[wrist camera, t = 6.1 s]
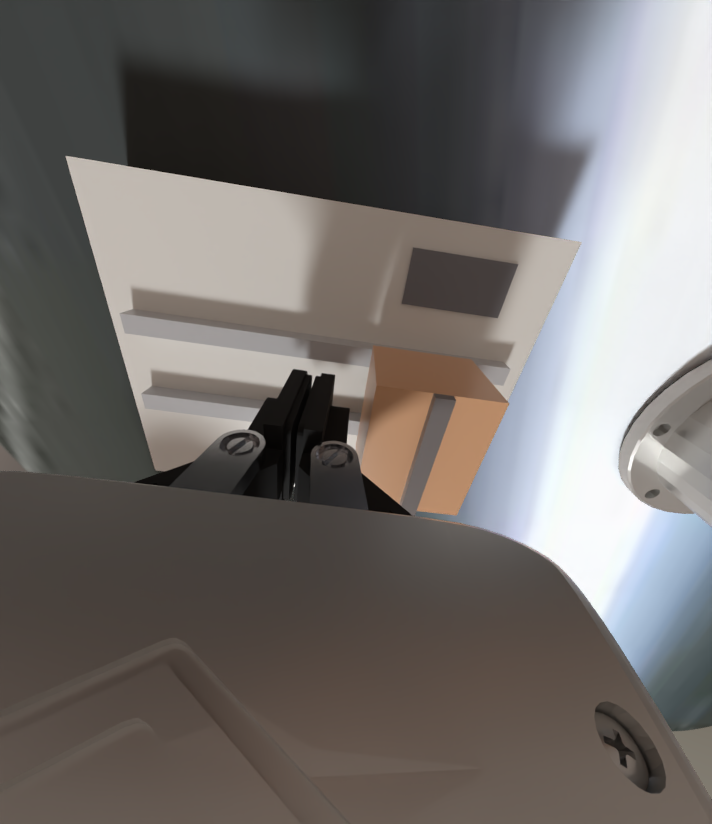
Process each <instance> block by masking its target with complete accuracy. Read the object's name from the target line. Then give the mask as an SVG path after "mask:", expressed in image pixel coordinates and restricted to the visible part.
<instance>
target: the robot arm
mask: <svg viewBox="0 0 712 824" xmlns="http://www.w3.org/2000/svg"><path fill="white" fill-rule="evenodd" d="M334 384H335V375H333V374H326V373H322V374H321V376H316V377H315V380H314V383H313V385H312V375H308V373H307V371H304V370H297V369H293V370H292V372H291V374H290V375H289V377H288V379H287V381H286V383H285V385H284V387H283V388H282V390H281V392H280V394H279V396H278V398H270V397H267V399H266V400H265V402H264V403H263V405H262V407H261V408H260V410H259V412H258V413H257V415H256V416H255V418H254V420H253V421H252V423H251V425H250V426H249V428H248V430H245V429H243V430H234V431H230V432H227V433H225V434H223V435H221V436H220V437H219V438H217V439H216V440H215V441H214V442H213V443H212V444H211V445H210V446H209V447H208V448H207V449H206V450H205V451H204V452H203V453H202V454H201V455H200V456H199V457H198V458H197V459H196V460H195V461H193V462H190V463H188V464H185V465H182V466H179V467H176V468H173V469H171V470H168V471H165V472H162V473H159V474H156V475H154V476H151V477H148V478H145V479H142V480H139V481H137V482H135V483H131V482H122V481H113V480H104V479H95V478H86V477H78V476H69V475H57V474H45V473H33V472H21V471H0V824H712V799H711V797H710V795H709V794H708V792H707V790H706V789H705V787H704V785H703V783H702V782H701V780H700V778H699V777H698V775H697V773H696V772H695V770H694V768H693V767H692V765H691V763H690V761H689V760H688V758H687V756H686V755H685V753H684V751H683V750H682V748H681V746H680V745H679V743H678V741H677V739H676V738H675V736H674V734H673V733H672V731H671V729H670V728H669V726H668V724H667V722H666V721H665V719H664V717H663V716H662V714H661V712H660V711H659V709H658V707H657V706H656V704H655V703H654V701H653V699H652V698H651V696H650V695H649V693H648V691H647V690H646V688H645V687H644V685H643V683H642V682H641V680H640V678H639V677H638V675H637V674H636V672H635V670H634V669H633V667H632V666H631V664H630V662H629V661H628V659H627V658H626V656H625V654H624V653H623V651H622V650H621V648H620V646H619V645H618V643H617V642H616V640H615V639H614V637H613V636H612V634H611V633H610V631H609V630H608V628H607V627H606V625H605V624H604V622H603V621H602V619H601V618H600V616H599V615H598V614H597V612H596V611H595V609H594V608H593V607H592V605H591V604H590V602H589V601H588V600H587V598H586V597H585V595H584V594H583V593H582V592H581V590H580V589H579V588H578V587H577V585H576V584H575V583H574V582H573V581H572V579H571V578H570V577H569V576H568V575H567V574H566V573H565V572H564V571H563V570H562V569H561V568H560V567H559V566H558V565H557V564H555V563H554V562H553V561H552V560H550V559H549V558H548V557H546V556H545V555H543V554H541V553H540V552H538V551H536V550H534V549H533V548H531V547H529V546H527V545H525V544H523V543H520V542H518V541H516V540H514V539H511V538H509V537H507V536H504V535H502V534H499V533H495V532H492V531H489V530H486V529H483V528H479V527H475V526H470V525H466V524H462V523H456V522H449V521H443V520H436V519H430V518H423V517H417V516H412V515H411V514H410V513H409V512H408V511H407V510H405V509H404V508H403V507H402V506H401V505H399V504H398V503H397V502H396V501H395V500H393V499H392V498H391V497H390V496H389V495H387V494H386V493H385V492H384V491H383V490H382V489H380V488H379V487H378V486H377V485H376V484H374V483H373V482H372V481H371V480H370V479H368V478H367V477H366V476H365V475H364V474H362V473H361V468H360V463H359V458H358V454H357V452H356V451H355V450H354V448H353V447H351V446H350V445H348V444H347V435H348V424H349V413H350V408H345V407H337V406H332V402H333V393H334ZM618 469H619V472H620V476H621V479H622V481H623V482H624V484H625V485H626V487H627V488H628V489H629V490H630V491H631V492H632V493H633V494H634V495H635V496H636V497H637V498H638V499H639V500H640V501H642V502H643V503H645V504H647V505H649V506H651V507H652V508H656V509H659V510H662V511H666V512H674V513H682V514H696V515H697V516H699V517H700V518H701V519H702V520H703V521H705V522H706V523H707V524H708V525H709V526H710V527H712V359H710V360H709V361H707V362H705V363H704V364H702V365H700V366H699V367H697V368H695V369H694V370H692V371H690V372H688V373H687V374H685V375H684V376H683V377H681V378H680V379H679V380H677V381H676V382H675V383H673V384H672V385H671V386H669V387H668V388H667V389H665V390H664V391H663V392H662V393H661V394H660V395H659V396H658V397H657V398H656V399H654V400H653V401H652V402H651V403H650V404H649V405H648V406H647V407H646V408H645V410H644V411H643V412H642V413H641V415H640V416H639V417H638V418H637V419H636V421H635V422H634V423H633V425H632V427H631V428H630V430H629V432H628V434H627V435H626V437H625V439H624V441H623V444H622V447H621V450H620V453H619V465H618ZM294 484H295V490H294V500H296V501H297V502H293V501H285V500H284V499H287V500H290V498H291V494H292V491H293V487H294Z"/></svg>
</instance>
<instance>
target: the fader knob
mask: <svg viewBox="0 0 712 824" xmlns="http://www.w3.org/2000/svg"><path fill="white" fill-rule="evenodd" d="M508 405H509V403H508V401H507V400H506V399H505V398H504V397H503V396H502V394H501V393H500V392H499V391H498V390H497V389H496V387H495V386H494V385H493V384H492V383H491V382H490V380H489V379H488V378H487V377H486V376H485V375H484V373H483V372H482V371H481V370H480V369H479V368H478V366H477V365H476V364H475V363H474V362H473V361H472V359H466V358H459V357H452V356H445V355H438V354H431V353H424V352H417V351H410V350H403V349H396V348H389V347H382V346H375V345H373V349H372V355H371V360H370V366H369V372H368V378H367V383H366V389H365V395H364V401H363V406H362V412H361V418H360V424H359V429H358V435H357V441H356V452H357V454H358V458H359V463H360V468H361V473H362V474H364V475H365V476H366V477H367V478H368V479H370V480H371V481H372V482H373V483H374V484H376V485H377V486H378V487H379V488H380V489H382V490H383V491H384V492H385V493H386V494H387V495H389V496H390V497H391V498H392V499H393V500H395V501H396V502H397V503H398V504H399V505H401V506H402V507H403V508H404V509H405V510H407V511H408V512H409V513H410V514H411V515H412V516H415V514H416V511H423V512H431V513H440V514H449V515H457V513H458V511H459V509H460V507H461V505H462V503H463V501H464V499H465V496H466V494H467V492H468V490H469V488H470V486H471V484H472V482H473V479H474V477H475V475H476V473H477V471H478V469H479V467H480V465H481V462H482V460H483V458H484V456H485V454H486V452H487V450H488V448H489V445H490V443H491V441H492V439H493V437H494V435H495V433H496V431H497V428H498V426H499V424H500V422H501V420H502V418H503V416H504V413H505V411H506V409H507V407H508Z"/></svg>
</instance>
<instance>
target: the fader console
mask: <svg viewBox="0 0 712 824" xmlns="http://www.w3.org/2000/svg"><path fill="white" fill-rule="evenodd" d="M66 159H67V163H68V166H69V170H70V173H71V177H72V180H73V184H74V187H75V191H76V194H77V198H78V201H79V205H80V208H81V212H82V215H83V219H84V222H85V226H86V229H87V233H88V236H89V240H90V243H91V247H92V250H93V254H94V257H95V261H96V264H97V268H98V271H99V275H100V278H101V282H102V285H103V289H104V292H105V296H106V299H107V303H108V306H109V310H110V313H111V317H112V320H113V324H114V327H115V331H116V334H117V338H118V341H119V345H120V348H121V352H122V355H123V359H124V362H125V366H126V369H127V373H128V376H129V380H130V383H131V387H132V390H133V394H134V397H135V401H136V404H137V408H138V411H139V415H140V418H141V422H142V425H143V429H144V432H145V436H146V439H147V443H148V446H149V450H150V453H151V457H152V460H153V464H154V467H155V470H157V471H168V470H171V469H173V468H176V467H179V466H182V465H185V464H188V463H190V462H193V461H195V460H196V459H197V458H198V457H199V456H200V455H201V454H202V453H203V452H204V451H205V450H206V449H207V448H208V447H209V446H210V445H211V444H212V443H213V442H214V441H215V440H216V439H217V438H219V437H220V436H221V435H223V434H225V433H227V432H230V431H234V430H243V429H245V430H248V428H249V426H250V425H251V423H252V421H253V420H254V418H255V416H256V415H257V413H258V412H259V410H260V408H261V407H262V405H263V403H264V402H265V400H266V399H267V397H270V398H278V396H279V394H280V392H281V390H282V388H283V387H284V385H285V383H286V381H287V379H288V377H289V375H290V374H291V372H292V370H293V369H297V370H304V371H307V373H308V375H312V385H313V383H314V380H315V377H316V376H321V374H322V373H326V374H333V375H335V384H334V393H333V402H332V406H337V407H345V408H350V413H349V424H348V435H347V444H348V445H350V446H351V447H353V448H354V450H355V451H356V441H357V435H358V429H359V424H360V418H361V412H362V406H363V401H364V395H365V389H366V383H367V378H368V372H369V366H370V360H371V355H372V349H373V345H375V346H382V347H389V348H396V349H403V350H410V351H417V352H424V353H431V354H438V355H445V356H452V357H459V358H466V359H472V361H473V362H474V363H475V364H476V365H477V366H478V368H479V369H480V370H481V371H482V372H483V373H484V375H485V376H486V377H487V378H488V379H489V380H490V382H491V383H492V384H493V385H494V386H495V387H496V389H497V390H498V391H499V392H500V393H501V394H502V396H503V397H504V398H505V399H506V400H507V401H508V400H509V397H510V395H511V393H512V391H513V389H514V387H515V385H516V382H517V380H518V378H519V376H520V374H521V372H522V370H523V367H524V365H525V363H526V361H527V359H528V357H529V354H530V352H531V350H532V348H533V346H534V344H535V342H536V339H537V337H538V335H539V333H540V331H541V329H542V327H543V324H544V322H545V320H546V318H547V316H548V314H549V312H550V309H551V307H552V305H553V303H554V301H555V299H556V296H557V294H558V292H559V290H560V288H561V286H562V284H563V281H564V279H565V277H566V275H567V273H568V271H569V269H570V266H571V264H572V262H573V260H574V258H575V256H576V253H577V251H578V249H579V247H580V245H581V243H582V242H577V241H571V240H565V239H559V238H553V237H547V236H541V235H535V234H529V233H523V232H517V231H511V230H505V229H499V228H494V227H488V226H482V225H476V224H470V223H464V222H458V221H452V220H446V219H440V218H434V217H428V216H422V215H416V214H410V213H404V212H398V211H392V210H386V209H380V208H374V207H368V206H362V205H356V204H350V203H344V202H338V201H332V200H326V199H320V198H314V197H308V196H302V195H296V194H290V193H284V192H278V191H272V190H267V189H261V188H255V187H249V186H243V185H237V184H231V183H225V182H219V181H213V180H207V179H201V178H195V177H189V176H183V175H177V174H171V173H165V172H159V171H153V170H147V169H141V168H135V167H129V166H123V165H117V164H111V163H105V162H99V161H93V160H87V159H81V158H75V157H69V156H66ZM294 486H295V484H294Z"/></svg>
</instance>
